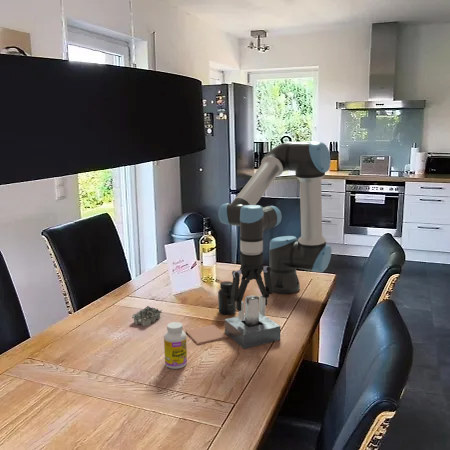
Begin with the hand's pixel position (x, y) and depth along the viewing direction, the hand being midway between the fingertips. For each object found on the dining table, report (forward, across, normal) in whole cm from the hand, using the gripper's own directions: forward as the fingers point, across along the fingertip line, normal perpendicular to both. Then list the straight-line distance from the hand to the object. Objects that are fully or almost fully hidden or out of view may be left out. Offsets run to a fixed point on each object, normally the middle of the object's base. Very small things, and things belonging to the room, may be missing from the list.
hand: (251, 316), depth 160 cm
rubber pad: (+7, +14, -8) cm, 17 cm away
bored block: (+7, 0, 0) cm, 7 cm away
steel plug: (+7, 0, 0) cm, 7 cm away
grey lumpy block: (+8, +28, -31) cm, 42 cm away
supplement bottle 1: (+7, +30, +6) cm, 31 cm away
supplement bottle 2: (+7, -2, -23) cm, 24 cm away
